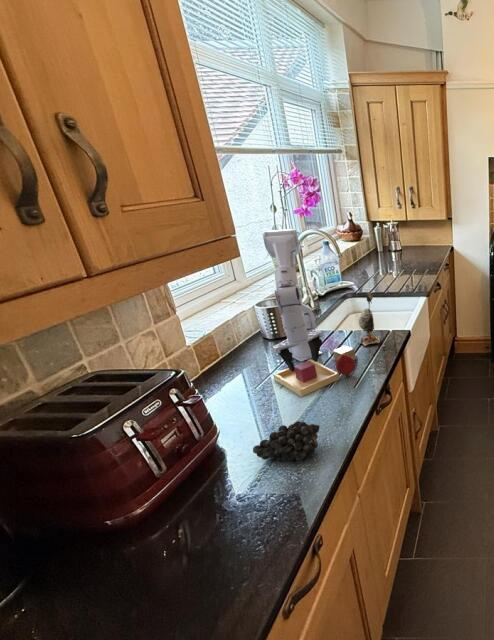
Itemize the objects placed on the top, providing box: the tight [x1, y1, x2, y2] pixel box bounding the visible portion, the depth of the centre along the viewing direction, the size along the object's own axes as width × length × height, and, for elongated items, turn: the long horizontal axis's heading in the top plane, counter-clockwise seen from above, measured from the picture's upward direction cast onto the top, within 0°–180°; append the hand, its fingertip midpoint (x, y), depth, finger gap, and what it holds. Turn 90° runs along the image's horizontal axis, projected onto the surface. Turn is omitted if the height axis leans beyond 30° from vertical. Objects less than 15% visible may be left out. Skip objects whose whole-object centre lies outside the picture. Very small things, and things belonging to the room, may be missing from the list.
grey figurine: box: [358, 291, 381, 347], centre depth 150 cm, size 8×11×20 cm
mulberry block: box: [294, 360, 317, 383], centre depth 126 cm, size 4×4×4 cm
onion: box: [335, 353, 356, 377], centre depth 127 cm, size 6×6×8 cm
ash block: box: [332, 345, 357, 362], centre depth 138 cm, size 5×5×4 cm
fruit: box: [252, 420, 320, 462], centre depth 92 cm, size 9×8×15 cm
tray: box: [273, 358, 341, 397], centre depth 127 cm, size 17×13×2 cm
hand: (304, 365), depth 125 cm, fingers open, 7 cm apart
